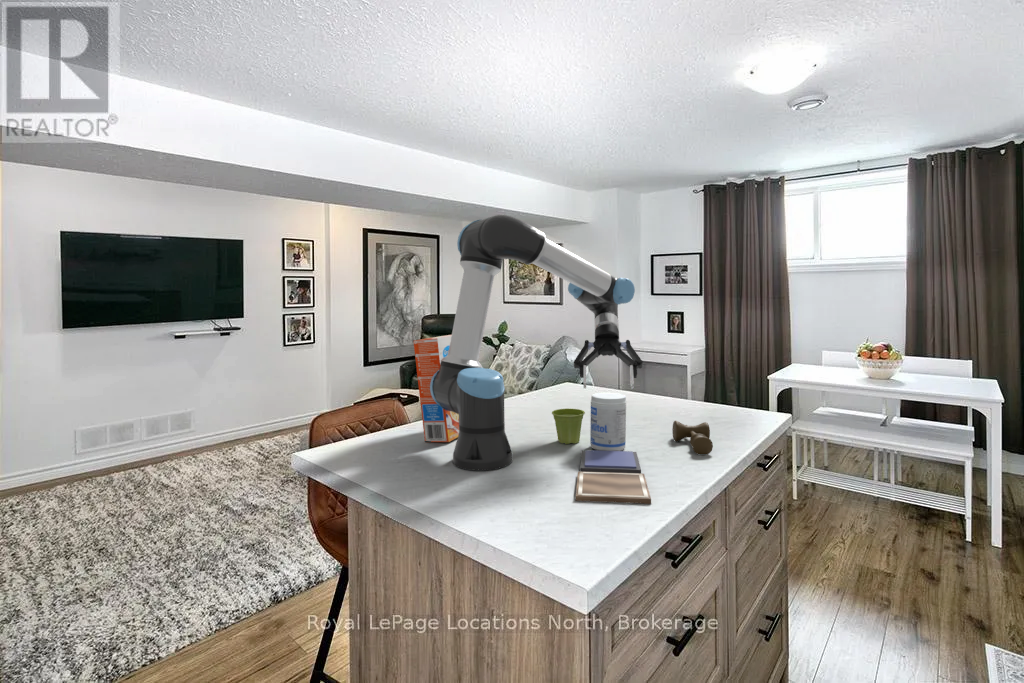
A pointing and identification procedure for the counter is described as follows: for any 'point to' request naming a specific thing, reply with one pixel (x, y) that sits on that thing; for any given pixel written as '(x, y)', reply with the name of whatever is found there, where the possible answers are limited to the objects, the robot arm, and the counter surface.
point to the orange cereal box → (434, 417)
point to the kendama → (694, 436)
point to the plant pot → (568, 424)
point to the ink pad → (610, 461)
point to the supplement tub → (608, 421)
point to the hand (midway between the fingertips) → (608, 386)
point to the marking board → (612, 487)
